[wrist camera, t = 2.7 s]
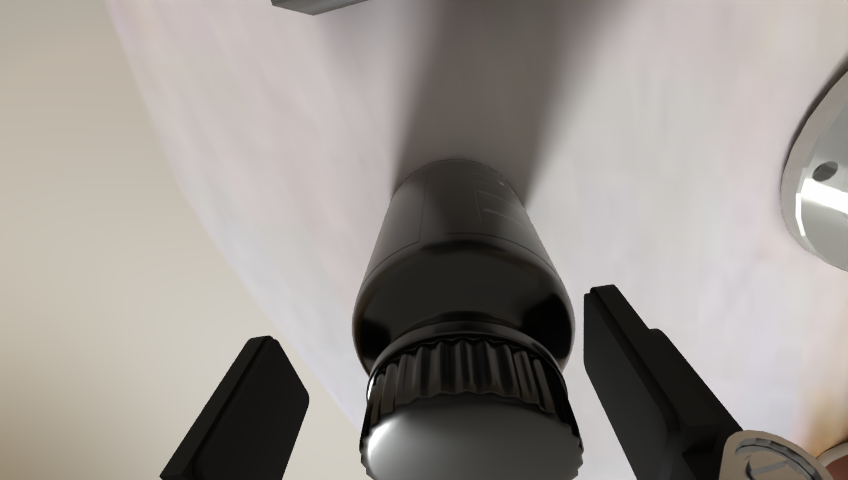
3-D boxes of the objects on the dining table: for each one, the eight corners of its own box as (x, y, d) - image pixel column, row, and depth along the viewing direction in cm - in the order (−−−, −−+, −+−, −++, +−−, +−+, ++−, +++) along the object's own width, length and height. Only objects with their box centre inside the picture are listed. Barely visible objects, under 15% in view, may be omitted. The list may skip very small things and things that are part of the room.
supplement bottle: (454, 294, 20) (459, 561, 10) (363, 220, 18) (244, 457, 8) (550, 219, 17) (705, 478, 7) (456, 123, 15) (471, 281, 5)
